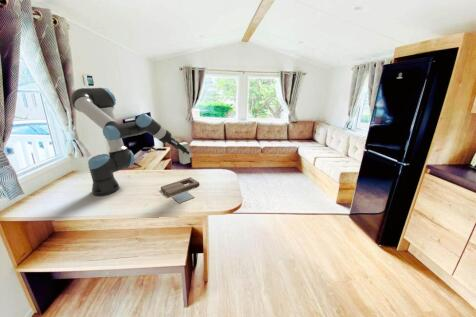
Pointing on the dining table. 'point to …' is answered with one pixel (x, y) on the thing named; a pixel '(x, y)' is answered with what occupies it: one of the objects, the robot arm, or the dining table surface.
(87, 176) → the dining table surface
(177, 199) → the mat
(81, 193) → the dining table surface
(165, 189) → the puzzle board
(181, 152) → the puzzle block
